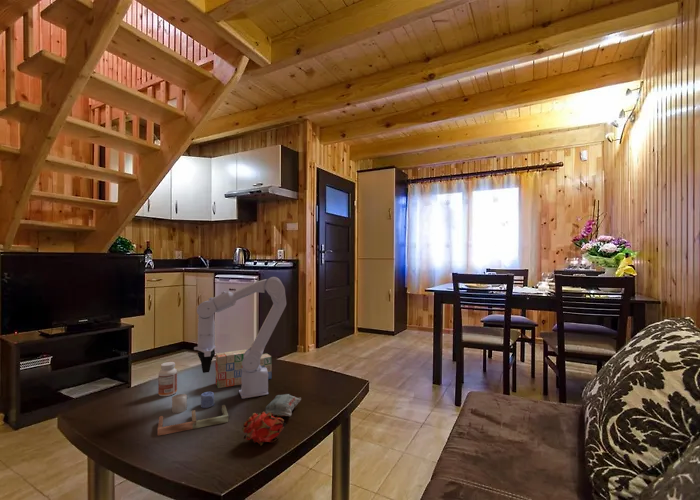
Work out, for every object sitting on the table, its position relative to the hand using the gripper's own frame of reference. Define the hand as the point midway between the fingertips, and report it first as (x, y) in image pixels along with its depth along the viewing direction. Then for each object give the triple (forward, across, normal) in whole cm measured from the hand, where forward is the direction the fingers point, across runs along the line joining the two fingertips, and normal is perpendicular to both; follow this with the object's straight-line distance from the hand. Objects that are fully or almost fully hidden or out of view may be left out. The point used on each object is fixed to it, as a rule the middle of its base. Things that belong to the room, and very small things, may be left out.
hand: (206, 372), depth 125 cm
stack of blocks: (+10, -12, +15) cm, 21 cm away
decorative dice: (+9, +8, 0) cm, 12 cm away
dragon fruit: (+9, +40, +12) cm, 42 cm away
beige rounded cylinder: (+9, +8, -8) cm, 15 cm away
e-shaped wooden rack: (+9, +18, -4) cm, 21 cm away
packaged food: (+10, +25, +22) cm, 34 cm away
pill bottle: (+9, -10, -12) cm, 19 cm away
